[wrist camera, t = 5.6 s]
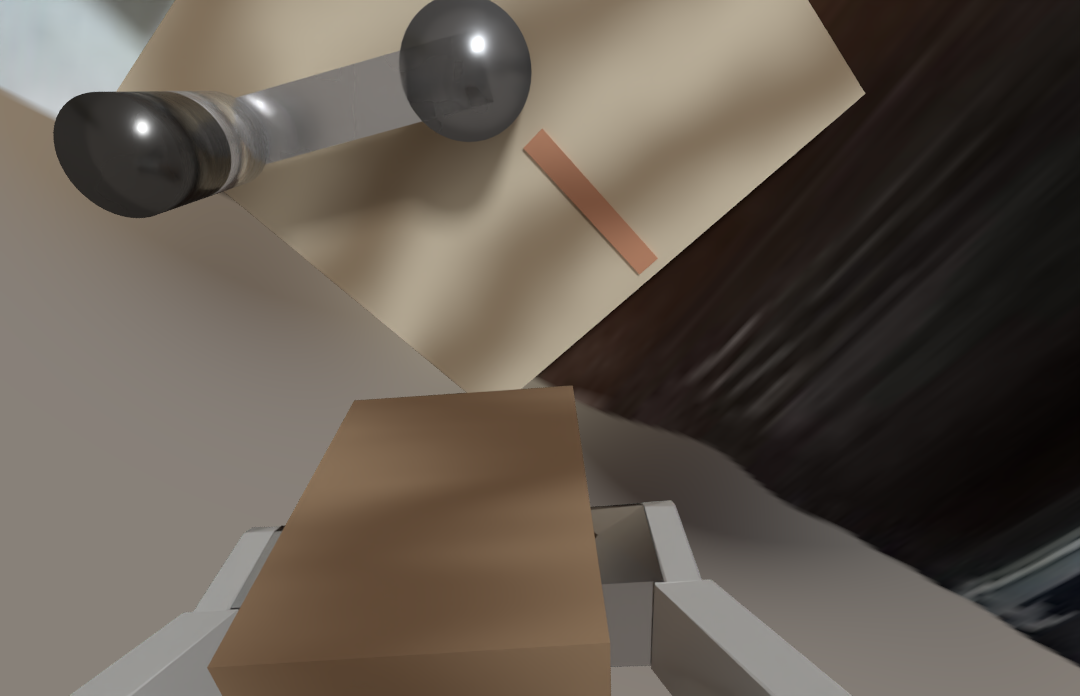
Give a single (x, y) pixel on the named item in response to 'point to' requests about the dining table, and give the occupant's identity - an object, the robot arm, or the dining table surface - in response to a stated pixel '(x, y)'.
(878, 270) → the dining table surface
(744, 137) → the crank board
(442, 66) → the crank
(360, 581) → the block
